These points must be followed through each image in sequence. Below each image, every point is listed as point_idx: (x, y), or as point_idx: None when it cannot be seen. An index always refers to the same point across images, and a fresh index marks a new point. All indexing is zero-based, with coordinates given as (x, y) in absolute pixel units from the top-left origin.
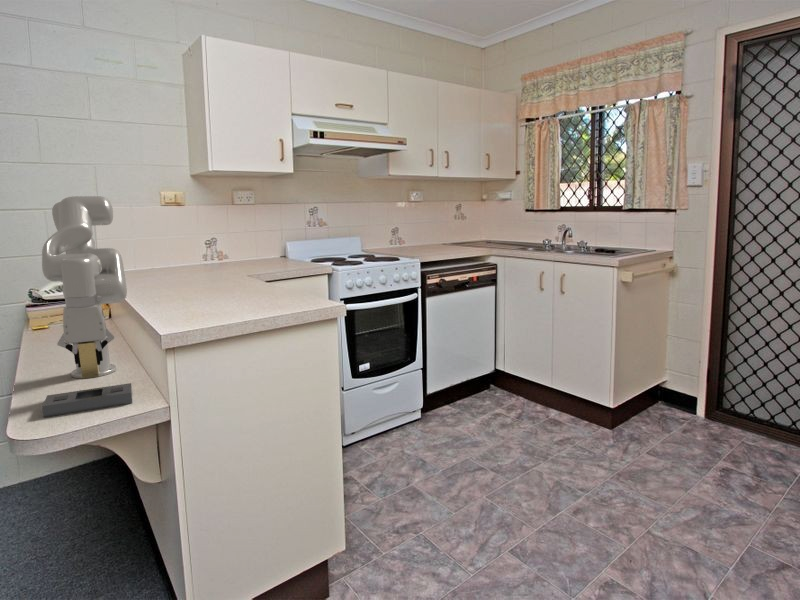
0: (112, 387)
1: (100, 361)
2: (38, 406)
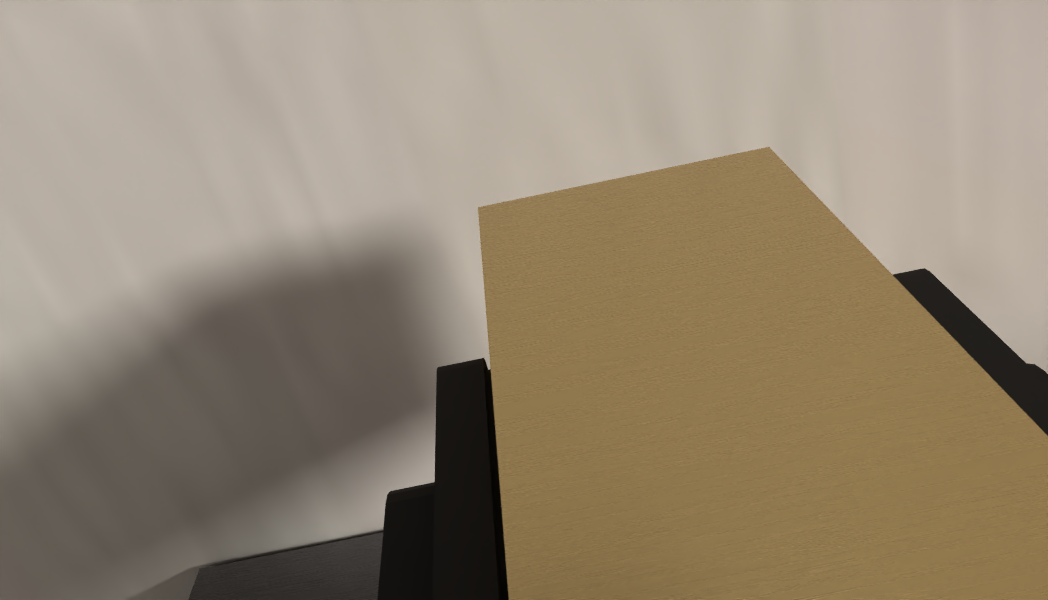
0: None
1: (920, 274)
2: (56, 517)
